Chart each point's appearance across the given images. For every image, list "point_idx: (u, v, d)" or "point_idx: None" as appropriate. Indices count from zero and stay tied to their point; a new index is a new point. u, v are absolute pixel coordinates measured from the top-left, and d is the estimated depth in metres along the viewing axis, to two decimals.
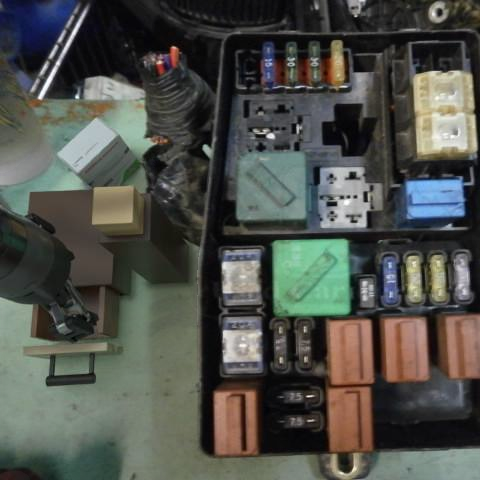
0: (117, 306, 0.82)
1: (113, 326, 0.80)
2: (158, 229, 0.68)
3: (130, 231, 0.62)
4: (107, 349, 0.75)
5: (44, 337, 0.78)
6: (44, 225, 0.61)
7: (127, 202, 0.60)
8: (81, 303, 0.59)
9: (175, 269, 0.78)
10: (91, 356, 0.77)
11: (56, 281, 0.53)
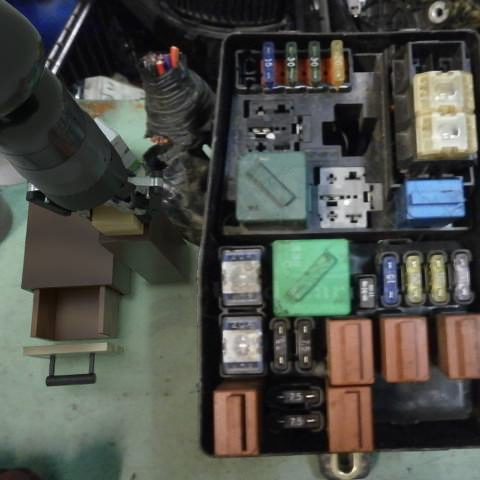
0: (117, 306, 0.82)
1: (113, 326, 0.80)
2: (158, 229, 0.68)
3: (130, 231, 0.62)
4: (107, 349, 0.75)
5: (44, 337, 0.78)
6: None
7: None
8: None
9: (175, 269, 0.78)
10: (91, 356, 0.77)
11: None
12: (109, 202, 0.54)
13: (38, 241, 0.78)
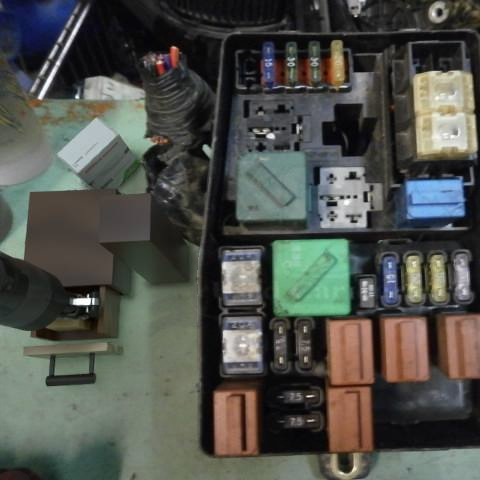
0: (117, 306, 0.82)
1: (113, 326, 0.80)
2: (158, 229, 0.68)
3: (78, 329, 0.77)
4: (107, 349, 0.75)
5: (44, 337, 0.78)
6: None
7: None
8: (77, 295, 0.73)
9: (175, 269, 0.78)
10: (91, 356, 0.77)
11: (54, 278, 0.65)
12: (55, 318, 0.69)
13: (38, 241, 0.78)
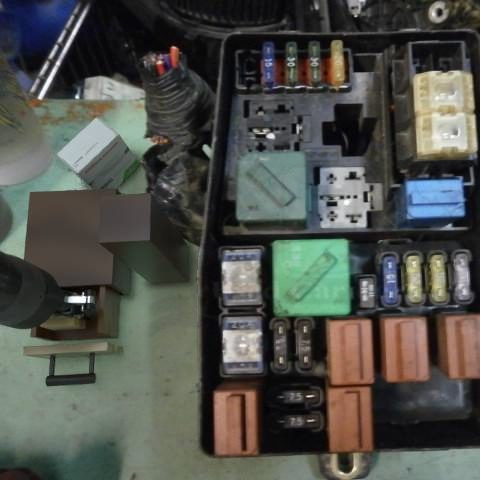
0: (117, 306, 0.82)
1: (113, 326, 0.80)
2: (158, 229, 0.68)
3: (73, 328, 0.76)
4: (107, 349, 0.75)
5: (44, 337, 0.78)
6: None
7: None
8: (72, 293, 0.71)
9: (175, 269, 0.78)
10: (91, 356, 0.77)
11: (48, 275, 0.64)
12: (50, 317, 0.67)
13: (38, 241, 0.78)
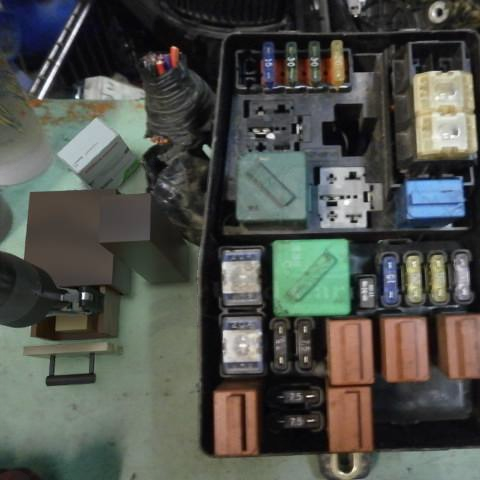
0: (117, 306, 0.82)
1: (113, 326, 0.80)
2: (158, 229, 0.68)
3: (86, 332, 0.80)
4: (107, 349, 0.75)
5: (44, 337, 0.78)
6: None
7: None
8: (74, 290, 0.70)
9: (175, 269, 0.78)
10: (91, 356, 0.77)
11: (44, 273, 0.63)
12: (45, 315, 0.66)
13: (38, 241, 0.78)
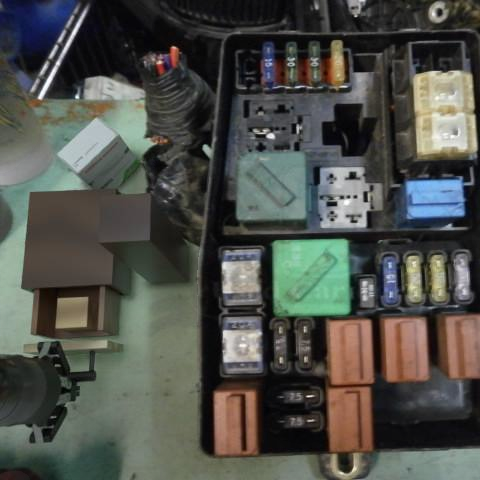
0: (117, 304, 0.83)
1: (113, 324, 0.80)
2: (158, 229, 0.68)
3: (86, 329, 0.80)
4: (107, 346, 0.75)
5: (44, 335, 0.78)
6: (62, 359, 0.70)
7: (83, 310, 0.78)
8: (64, 403, 0.69)
9: (175, 269, 0.78)
10: (91, 354, 0.77)
11: (38, 417, 0.61)
12: None
13: (38, 241, 0.78)
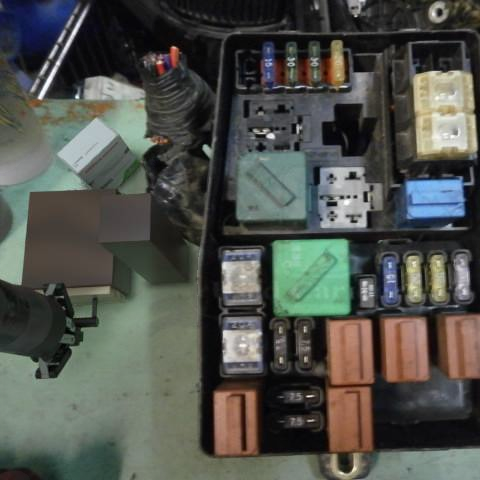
0: None
1: None
2: (158, 229, 0.68)
3: None
4: (110, 292, 0.77)
5: None
6: (66, 301, 0.73)
7: None
8: (68, 343, 0.72)
9: (175, 269, 0.78)
10: (94, 300, 0.79)
11: (44, 348, 0.63)
12: None
13: (38, 241, 0.78)
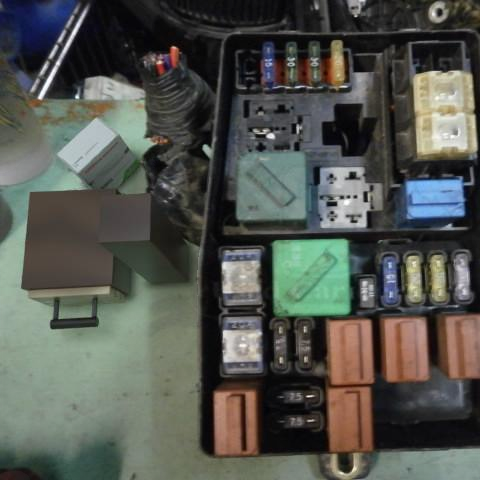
0: None
1: None
2: (158, 229, 0.68)
3: None
4: (110, 292, 0.77)
5: None
6: None
7: None
8: None
9: (175, 269, 0.78)
10: (94, 300, 0.79)
11: None
12: None
13: (38, 241, 0.78)
